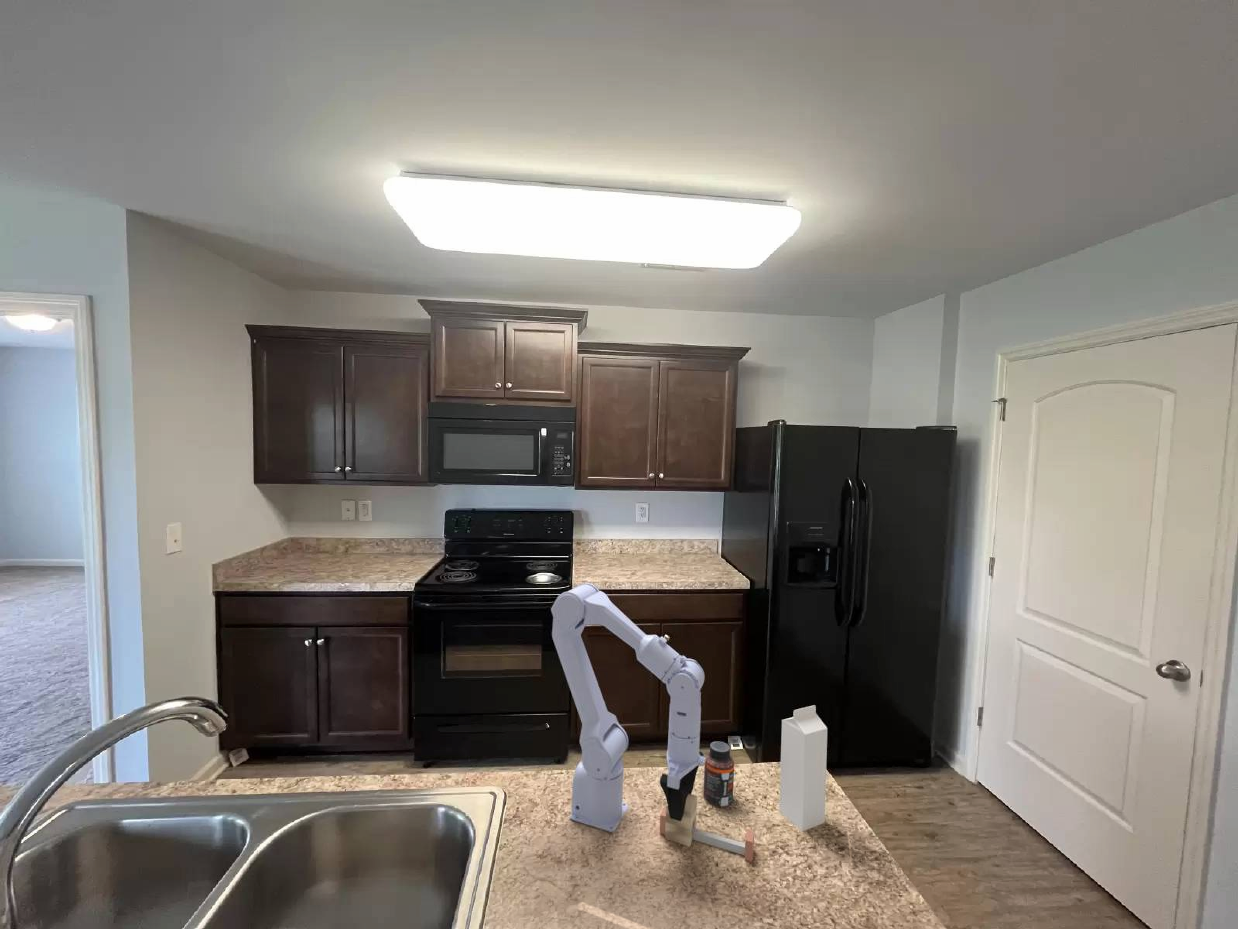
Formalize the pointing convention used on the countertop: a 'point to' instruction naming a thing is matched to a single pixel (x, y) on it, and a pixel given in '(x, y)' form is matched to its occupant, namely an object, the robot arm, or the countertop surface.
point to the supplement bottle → (719, 775)
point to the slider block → (682, 823)
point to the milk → (803, 768)
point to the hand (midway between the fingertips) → (681, 805)
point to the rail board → (718, 839)
